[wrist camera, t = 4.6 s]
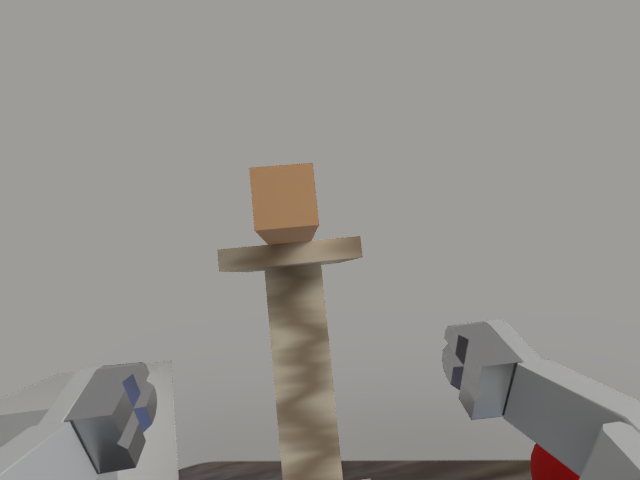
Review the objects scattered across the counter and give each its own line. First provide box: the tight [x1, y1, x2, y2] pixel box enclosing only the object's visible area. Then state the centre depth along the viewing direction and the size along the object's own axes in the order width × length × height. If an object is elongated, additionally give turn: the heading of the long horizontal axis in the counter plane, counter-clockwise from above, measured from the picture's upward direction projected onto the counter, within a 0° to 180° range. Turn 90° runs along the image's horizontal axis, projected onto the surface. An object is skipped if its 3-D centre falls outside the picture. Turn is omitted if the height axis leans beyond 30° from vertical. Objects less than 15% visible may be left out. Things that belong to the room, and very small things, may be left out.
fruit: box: [530, 443, 580, 480], centre depth 28 cm, size 9×9×10 cm
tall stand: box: [218, 236, 371, 480], centre depth 30 cm, size 12×14×26 cm
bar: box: [250, 163, 319, 245], centre depth 26 cm, size 3×20×3 cm, turn 4°
